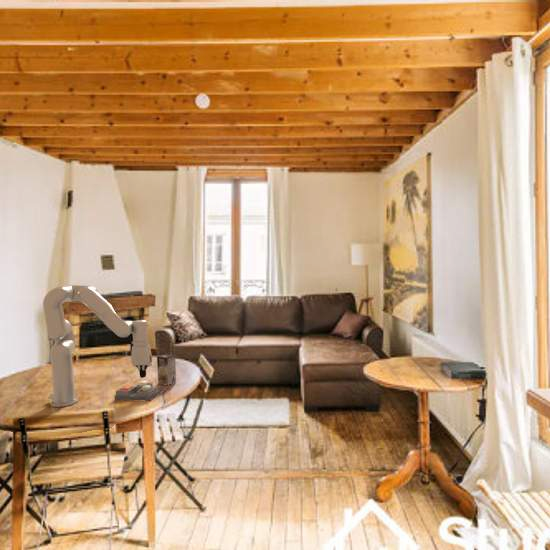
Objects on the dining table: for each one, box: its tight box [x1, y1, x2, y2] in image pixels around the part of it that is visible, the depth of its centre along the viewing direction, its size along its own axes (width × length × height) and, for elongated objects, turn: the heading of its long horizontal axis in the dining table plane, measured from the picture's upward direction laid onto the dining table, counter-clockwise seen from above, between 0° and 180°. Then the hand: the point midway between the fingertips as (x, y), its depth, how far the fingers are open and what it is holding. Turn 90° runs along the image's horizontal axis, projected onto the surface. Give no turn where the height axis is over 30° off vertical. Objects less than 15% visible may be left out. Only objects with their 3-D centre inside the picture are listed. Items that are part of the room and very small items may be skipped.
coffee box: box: [156, 353, 177, 386], centre depth 228 cm, size 9×6×16 cm
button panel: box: [114, 382, 165, 402], centre depth 210 cm, size 20×15×4 cm
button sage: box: [141, 385, 151, 391], centre depth 205 cm, size 5×5×2 cm
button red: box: [120, 385, 131, 391], centre depth 207 cm, size 5×5×2 cm
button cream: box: [137, 380, 149, 386], centre depth 213 cm, size 5×5×2 cm
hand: (143, 377), depth 213 cm, fingers closed
